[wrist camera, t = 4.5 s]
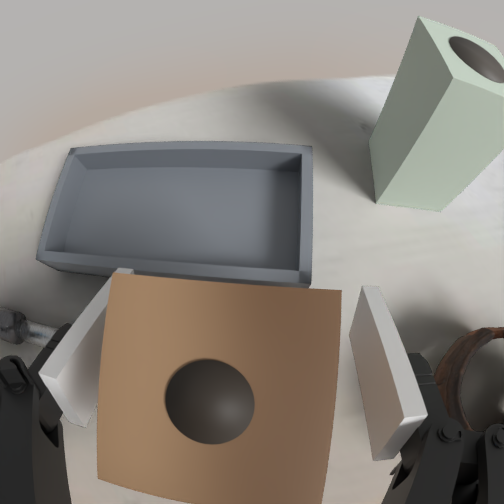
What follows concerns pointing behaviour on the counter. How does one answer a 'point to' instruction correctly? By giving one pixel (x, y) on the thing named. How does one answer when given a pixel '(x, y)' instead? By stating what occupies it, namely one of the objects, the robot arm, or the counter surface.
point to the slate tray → (185, 212)
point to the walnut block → (217, 390)
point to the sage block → (438, 118)
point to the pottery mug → (460, 369)
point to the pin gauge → (23, 329)
